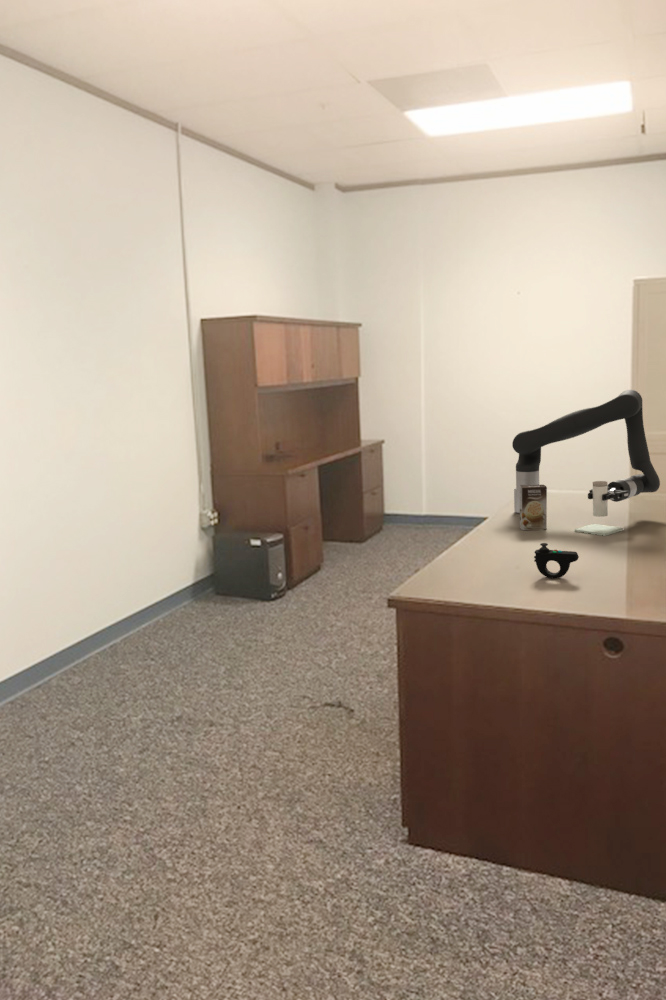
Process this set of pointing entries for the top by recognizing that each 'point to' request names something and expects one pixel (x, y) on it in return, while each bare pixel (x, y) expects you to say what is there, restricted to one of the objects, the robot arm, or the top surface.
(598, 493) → the ceramic jar
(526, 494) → the coffee box
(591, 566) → the top surface
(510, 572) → the top surface
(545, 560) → the controller
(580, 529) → the sage pad
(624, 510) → the top surface
